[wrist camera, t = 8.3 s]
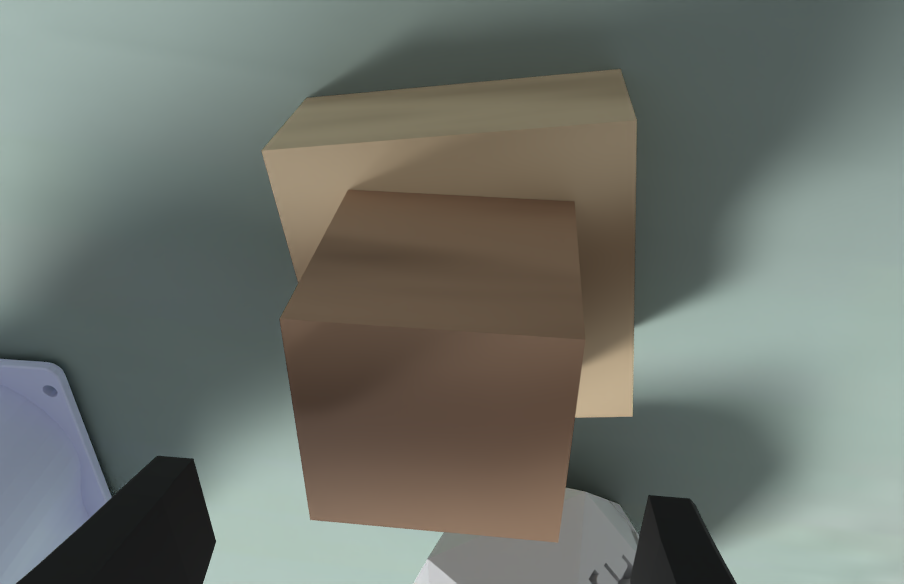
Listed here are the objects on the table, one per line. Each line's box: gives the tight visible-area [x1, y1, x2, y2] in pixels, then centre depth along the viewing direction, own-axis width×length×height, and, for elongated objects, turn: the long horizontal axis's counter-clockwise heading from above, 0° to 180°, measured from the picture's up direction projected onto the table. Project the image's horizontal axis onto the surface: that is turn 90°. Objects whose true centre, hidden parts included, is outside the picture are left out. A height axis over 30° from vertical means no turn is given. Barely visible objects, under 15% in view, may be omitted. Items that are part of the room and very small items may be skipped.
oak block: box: [262, 69, 637, 418], centre depth 19 cm, size 8×8×4 cm
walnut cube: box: [280, 190, 585, 543], centre depth 15 cm, size 5×5×5 cm
